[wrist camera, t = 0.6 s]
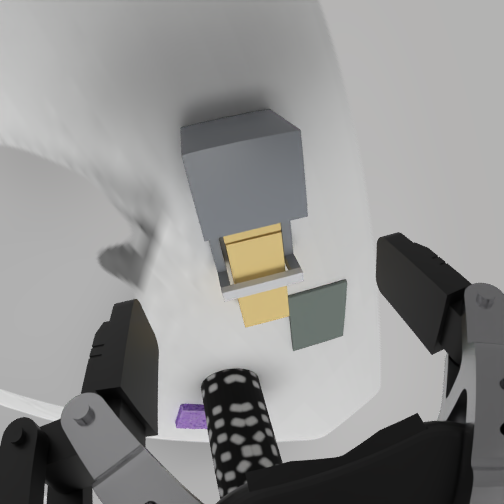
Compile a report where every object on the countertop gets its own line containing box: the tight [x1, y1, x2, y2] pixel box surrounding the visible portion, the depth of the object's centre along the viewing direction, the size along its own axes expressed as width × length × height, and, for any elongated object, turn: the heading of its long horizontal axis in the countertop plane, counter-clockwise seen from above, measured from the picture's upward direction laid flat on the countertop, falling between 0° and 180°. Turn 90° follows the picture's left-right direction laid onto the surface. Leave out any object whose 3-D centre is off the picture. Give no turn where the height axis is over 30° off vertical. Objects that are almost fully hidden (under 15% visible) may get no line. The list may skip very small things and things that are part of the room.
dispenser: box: [181, 109, 308, 302], centre depth 25 cm, size 14×7×7 cm, turn 9°
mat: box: [288, 280, 347, 351], centre depth 39 cm, size 10×7×1 cm
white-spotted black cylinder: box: [201, 369, 282, 499], centre depth 36 cm, size 8×8×20 cm
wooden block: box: [225, 230, 289, 327], centre depth 30 cm, size 10×4×4 cm, turn 8°
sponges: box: [175, 404, 207, 429], centre depth 48 cm, size 7×13×2 cm, turn 70°
